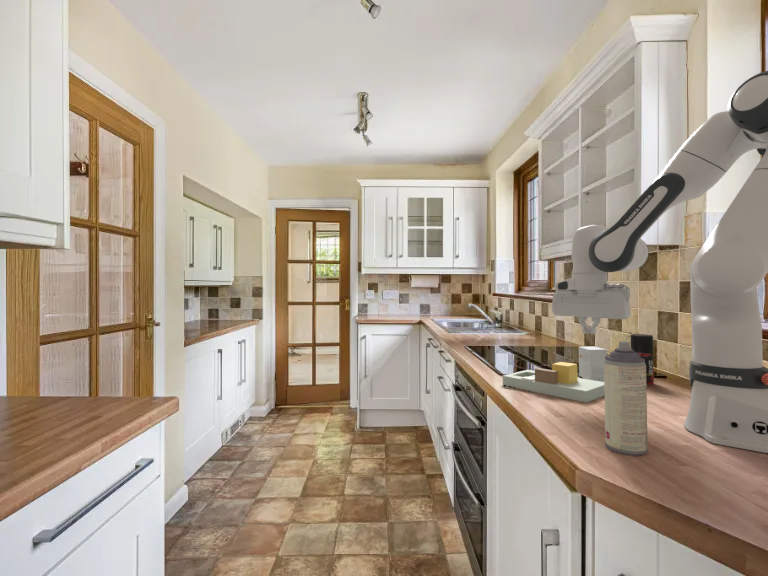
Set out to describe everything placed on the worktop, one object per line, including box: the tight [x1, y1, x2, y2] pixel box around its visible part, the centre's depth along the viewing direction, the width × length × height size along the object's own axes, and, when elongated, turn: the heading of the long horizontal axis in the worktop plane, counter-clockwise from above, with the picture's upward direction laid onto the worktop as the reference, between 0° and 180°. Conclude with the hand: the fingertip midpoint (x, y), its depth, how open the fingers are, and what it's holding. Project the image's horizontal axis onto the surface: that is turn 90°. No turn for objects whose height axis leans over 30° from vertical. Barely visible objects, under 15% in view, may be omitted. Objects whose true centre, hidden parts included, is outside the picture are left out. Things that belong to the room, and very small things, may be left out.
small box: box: [578, 345, 608, 382], centre depth 132 cm, size 8×6×10 cm
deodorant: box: [630, 333, 655, 386], centre depth 127 cm, size 6×6×15 cm
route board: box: [502, 367, 605, 404], centre depth 121 cm, size 26×14×6 cm, turn 38°
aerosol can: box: [604, 341, 649, 457], centre depth 76 cm, size 7×7×20 cm
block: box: [551, 361, 579, 384], centre depth 118 cm, size 5×5×5 cm
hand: (589, 333), depth 112 cm, fingers closed
